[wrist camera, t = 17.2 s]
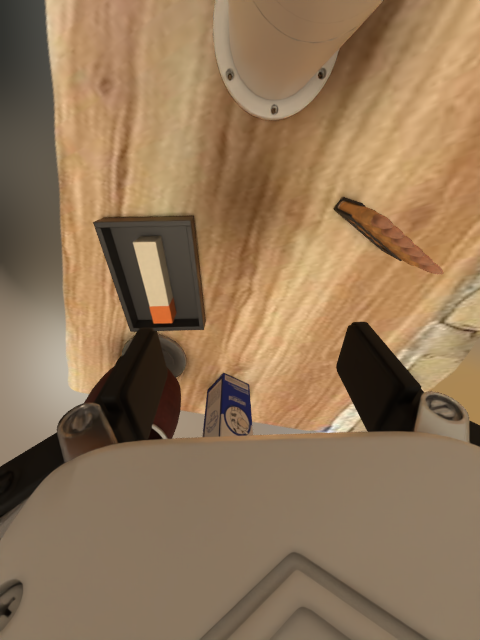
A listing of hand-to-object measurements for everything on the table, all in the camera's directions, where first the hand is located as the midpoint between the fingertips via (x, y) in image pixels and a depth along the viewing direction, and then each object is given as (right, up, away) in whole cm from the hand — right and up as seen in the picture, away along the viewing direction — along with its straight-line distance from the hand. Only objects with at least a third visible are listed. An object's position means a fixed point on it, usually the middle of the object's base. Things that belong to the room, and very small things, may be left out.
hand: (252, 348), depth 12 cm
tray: (-13, +8, +25) cm, 30 cm away
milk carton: (-3, -14, +41) cm, 43 cm away
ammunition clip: (+17, +15, +22) cm, 32 cm away
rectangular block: (-13, +8, +25) cm, 30 cm away
